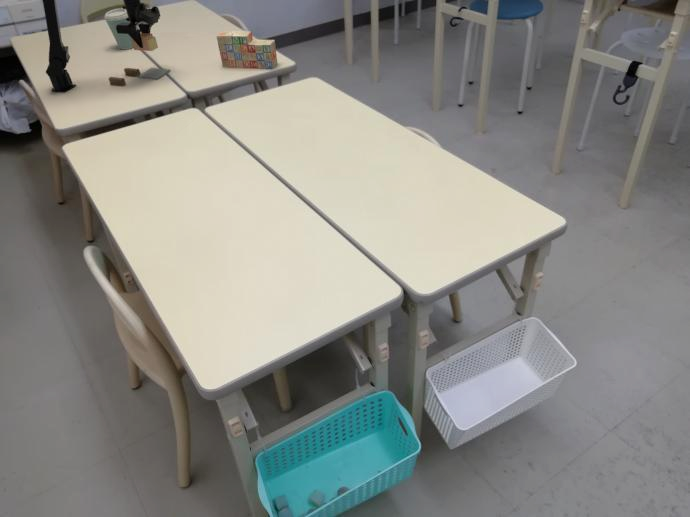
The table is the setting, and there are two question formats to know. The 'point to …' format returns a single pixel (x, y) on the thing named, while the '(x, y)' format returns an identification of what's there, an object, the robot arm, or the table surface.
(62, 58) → the robot arm
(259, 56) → the stack of blocks
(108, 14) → the disposable coffee cup
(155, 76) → the mat
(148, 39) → the plug block
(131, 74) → the rail right
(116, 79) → the rail left
